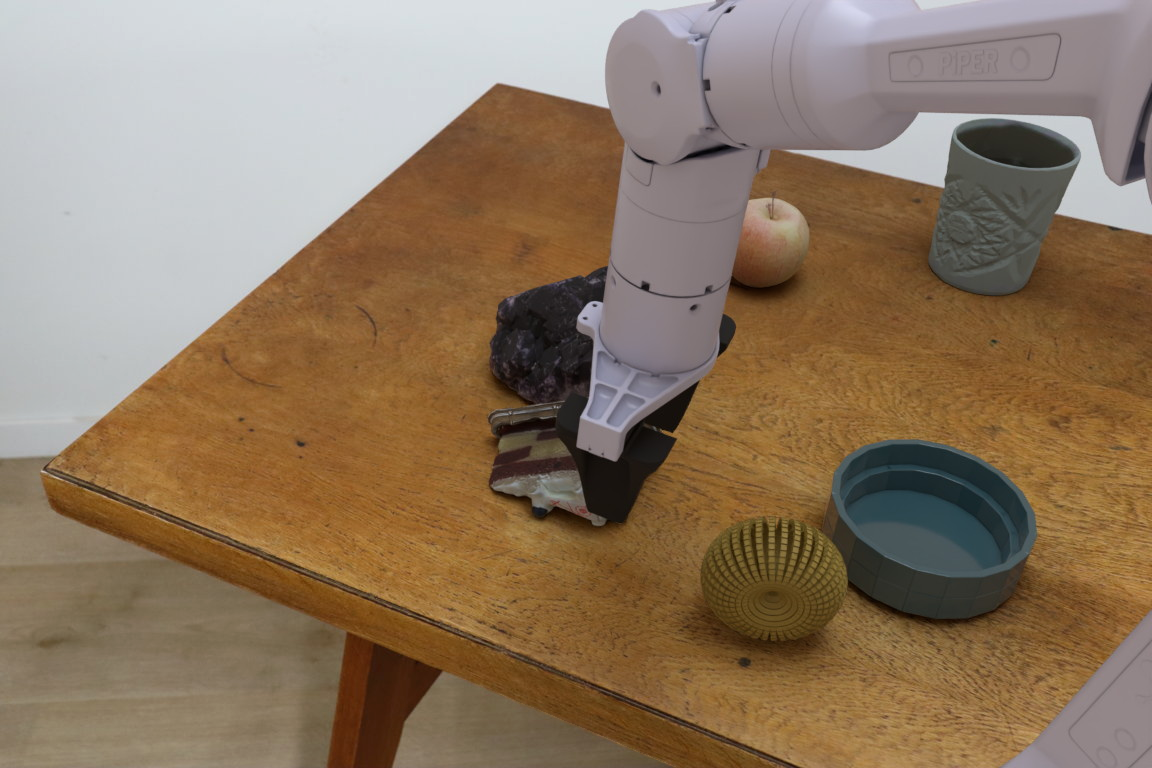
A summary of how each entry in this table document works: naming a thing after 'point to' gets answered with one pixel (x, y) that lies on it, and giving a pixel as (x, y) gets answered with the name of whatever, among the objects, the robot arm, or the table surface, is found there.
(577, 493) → the chocolate cake
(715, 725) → the table surface
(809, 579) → the sculpture
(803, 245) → the fruit
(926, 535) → the bowl
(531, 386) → the crystal cluster
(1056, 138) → the green vase
